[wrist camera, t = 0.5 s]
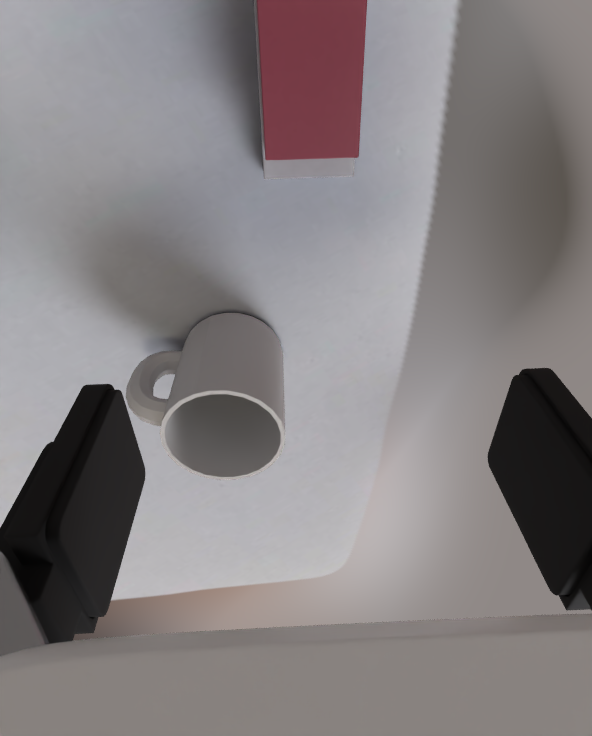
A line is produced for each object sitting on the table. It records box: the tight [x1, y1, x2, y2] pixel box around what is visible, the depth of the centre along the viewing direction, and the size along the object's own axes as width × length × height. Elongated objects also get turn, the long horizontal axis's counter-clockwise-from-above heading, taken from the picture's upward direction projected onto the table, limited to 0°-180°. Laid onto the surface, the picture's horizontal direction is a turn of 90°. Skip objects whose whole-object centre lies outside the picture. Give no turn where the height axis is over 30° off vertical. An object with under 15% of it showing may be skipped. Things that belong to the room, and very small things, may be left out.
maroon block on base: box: [254, 0, 367, 179], centre depth 23 cm, size 9×5×4 cm, turn 1°
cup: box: [126, 313, 285, 480], centre depth 30 cm, size 7×10×9 cm
